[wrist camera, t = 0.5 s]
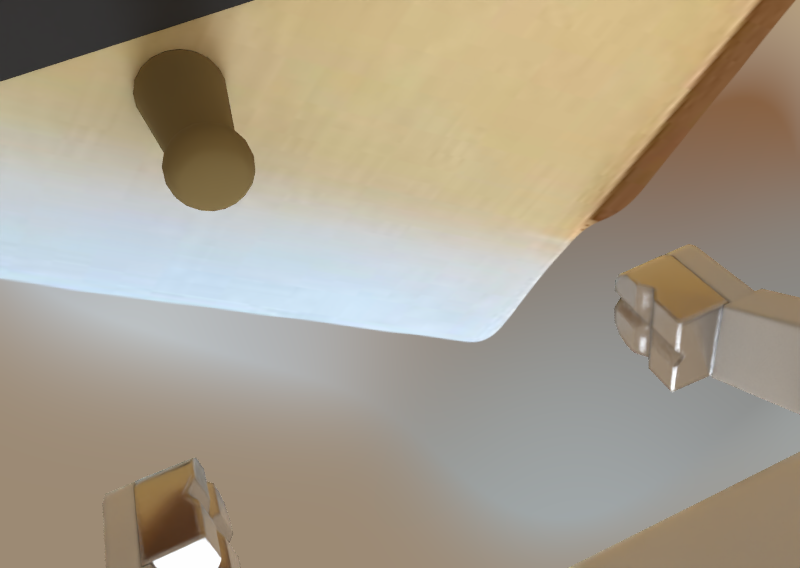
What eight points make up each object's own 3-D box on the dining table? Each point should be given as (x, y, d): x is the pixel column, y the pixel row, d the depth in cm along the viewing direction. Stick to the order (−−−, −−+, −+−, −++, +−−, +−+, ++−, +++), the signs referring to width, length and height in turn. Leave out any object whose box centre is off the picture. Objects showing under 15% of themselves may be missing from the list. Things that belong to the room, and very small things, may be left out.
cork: (122, 120, 46) (146, 217, 39) (148, 36, 43) (179, 124, 36) (209, 142, 49) (247, 234, 42) (239, 66, 47) (284, 151, 39)
